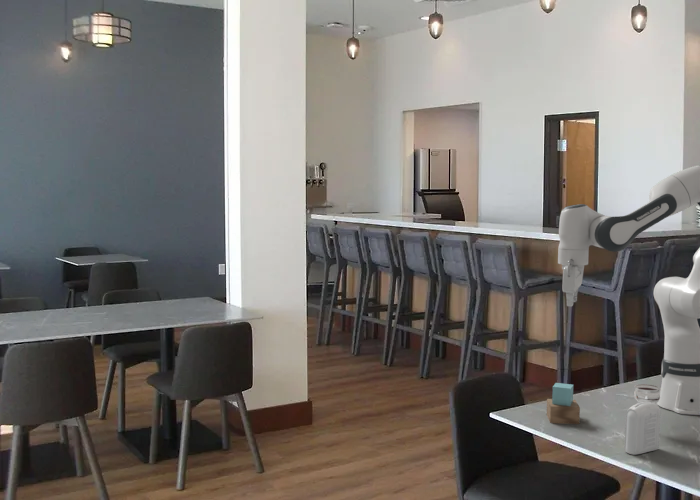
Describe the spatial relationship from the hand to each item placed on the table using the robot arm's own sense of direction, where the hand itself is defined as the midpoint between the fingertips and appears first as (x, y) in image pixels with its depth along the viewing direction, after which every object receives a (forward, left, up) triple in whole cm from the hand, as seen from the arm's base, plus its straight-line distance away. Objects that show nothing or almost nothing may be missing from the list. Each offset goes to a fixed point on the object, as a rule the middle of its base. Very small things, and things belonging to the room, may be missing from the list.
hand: (571, 304), depth 240 cm
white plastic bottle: (-22, +36, -31) cm, 52 cm away
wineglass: (-22, +18, -31) cm, 42 cm away
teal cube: (0, +16, -26) cm, 31 cm away
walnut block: (0, +16, -31) cm, 35 cm away
